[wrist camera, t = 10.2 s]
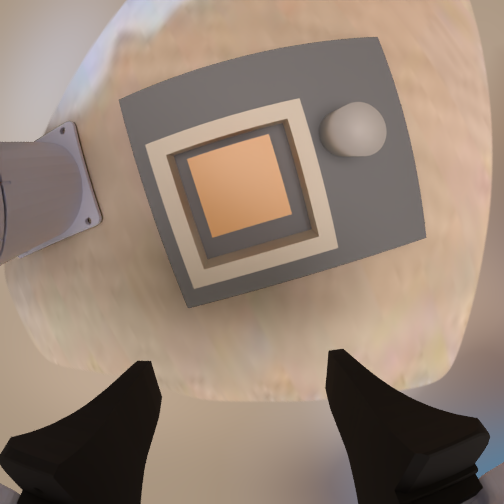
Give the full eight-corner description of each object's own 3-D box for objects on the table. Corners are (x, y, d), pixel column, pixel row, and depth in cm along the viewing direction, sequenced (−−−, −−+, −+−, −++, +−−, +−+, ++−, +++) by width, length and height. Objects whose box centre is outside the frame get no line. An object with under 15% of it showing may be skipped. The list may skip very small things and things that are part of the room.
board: (190, 302, 22) (179, 334, 18) (124, 102, 18) (95, 89, 13) (419, 234, 21) (453, 251, 17) (372, 41, 17) (399, 19, 12)
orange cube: (219, 220, 19) (212, 237, 15) (199, 159, 18) (186, 159, 14) (280, 202, 19) (291, 214, 15) (262, 140, 18) (268, 133, 14)
